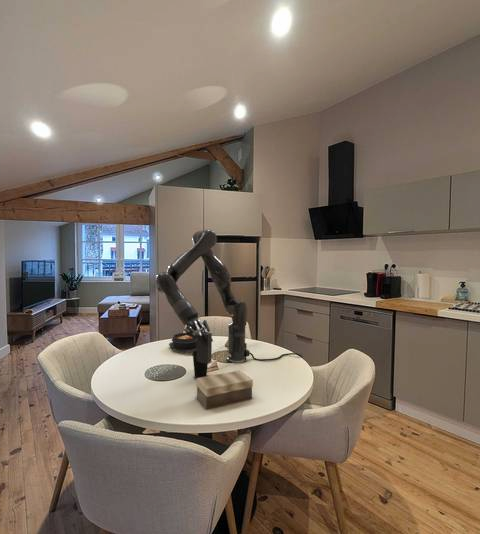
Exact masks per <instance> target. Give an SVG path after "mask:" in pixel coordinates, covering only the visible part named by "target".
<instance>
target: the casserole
mask: <svg viewBox="0 0 480 534" xmlns="http://www.w3.org/2000/svg"><path fill="white" fill-rule="evenodd" d="M192 334H193V333H192ZM168 345H169V347H170V349H171V350H172V351H176V352H180V353H188V354H189V353H193V351H195V350H197V338H195V339H193V338H192V337H191V336H190V335H189V334H188V333H186V332H180V333H175V334H173V336H172V338H171V342H170V343H168Z"/></svg>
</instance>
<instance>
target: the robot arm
mask: <svg viewBox="0 0 480 534" xmlns="http://www.w3.org/2000/svg"><path fill="white" fill-rule="evenodd" d="M217 240H218V237H217V234H216V233H215V231H214V230H212V229H203V230H197V231H195V232H194V233H193V235H192V243H193V246H192V247H190V248H189V249H187V250H186V251H184V252H183V253H181V254H180V255H179V256H177V258H176V259H175V260H173V262H171V263H170V265H169V266H168V269H167V270H166V271H162V272H159V273H158V274H157V275H156V278H155V288H156V290H157V291H158V292H159V293H161V294H164V295H165V298H166V301H167V303H168V304H169V305H170V307H171V308H172V309H173V311H174V313H175V315H176V316H177V318H178V319H179V320H180V321H181V323H182V324H183V325H184V326H185V327H184V328H183V331H184V333H188V334H189V335H190V336H191V337H192V338H193V339H195V338H197V339H199V341H200V342H201V343H202V345H203V346H205V345H207V344H208V342H207V341H206V339H205V338H204V337H203V336H202V334H201V332H207V333H210V332H211V329H210V326H209V324H208V322H207V320H206V319H203V320H201V318H199V312H198V311H197V310H196V309H195V307H194V306H193V304H191V302H190V301H189V300H188V299H187V298H186V297H185V295H184V294H183V292H182V291H181V290H180V288H179V286H178V284H177V282H178V281H179V280H180V277H181V276H182V275H184V274H185V273H186V271H188V269H189V268H190V267H191V266H192V265H193V264H194V263H195V262H196V261H197V260H198V259H199V258H201V259H202V261H203V263H204V265H205V266H206V269H207V271H208V273H209V275H210V277H211V280H212V281H213V283H214V285H215V287H216V289H217V292H218V294H219V296H220V298H221V301H222V304H223V306H224V309H225V312H226V313H227V314H228V315H229V316H230V317H231V316H233V322H232V321H231V322H230V323H228V325H227V326H228V328H227V341H228V347H227V361H228V362H229V363H233V364H240V363H244V362H245V361H247V358H248V357H250V356H251V357H252V359H253V360H254V361H259V362H264V361H265V362H267V361H276V360H280V359H281V358H282V357H285V356H292V355H293V356H297V357H300V358H303V355H302V354H300V353H297V352H289V353H282V354H280V355H279V356H277V357H273V358H256V357H255V356H254V354H253V353H252V352H251V351H250V350H249V349H247V347H248V346H247V345H248V343H246V327H247V322H248V304H247V303H246V302H245V301H243V300H241V299H236V297H235V295H234V293H233V291H232V278H231V274H230V272H229V270H228V268H227V266H226V264H225V263H223V261H222V260H220V258H219V257H217V256H216V255H215V253H214V252H213V250H212V248H213V247H215V245H216V243H217ZM192 333H193V334H192ZM212 342H214V340H213V338H212Z"/></svg>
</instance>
